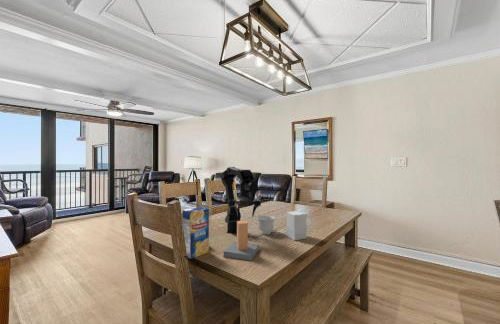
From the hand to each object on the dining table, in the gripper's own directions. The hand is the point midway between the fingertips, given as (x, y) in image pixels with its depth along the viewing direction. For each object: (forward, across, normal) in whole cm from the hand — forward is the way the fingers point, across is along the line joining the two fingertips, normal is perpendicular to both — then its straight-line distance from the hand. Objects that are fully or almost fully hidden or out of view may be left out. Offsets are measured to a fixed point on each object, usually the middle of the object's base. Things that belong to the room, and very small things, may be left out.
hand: (244, 217), depth 135 cm
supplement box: (+13, +31, +5) cm, 34 cm away
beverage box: (+13, -23, -22) cm, 34 cm away
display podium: (+13, 0, -20) cm, 24 cm away
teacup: (+13, +13, +14) cm, 23 cm away
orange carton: (+10, 0, -20) cm, 23 cm away
